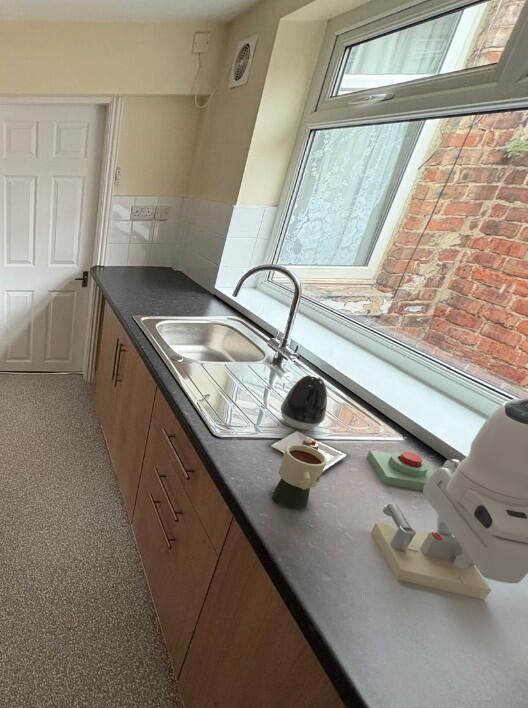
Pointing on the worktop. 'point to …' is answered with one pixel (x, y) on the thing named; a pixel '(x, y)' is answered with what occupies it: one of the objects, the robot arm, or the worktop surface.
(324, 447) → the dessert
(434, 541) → the tap handle
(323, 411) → the black egg shaped dome
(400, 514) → the spout
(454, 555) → the robot arm
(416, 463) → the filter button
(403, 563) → the tap block
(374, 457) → the green button base
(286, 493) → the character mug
